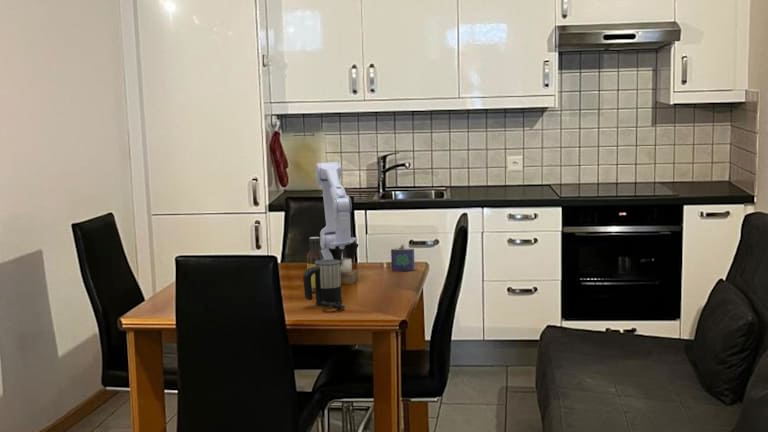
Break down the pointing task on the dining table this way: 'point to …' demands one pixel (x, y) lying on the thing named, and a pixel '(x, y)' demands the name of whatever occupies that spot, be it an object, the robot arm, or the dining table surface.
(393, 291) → the dining table surface
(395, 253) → the flask
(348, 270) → the cup
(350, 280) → the block
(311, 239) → the sauce bottle
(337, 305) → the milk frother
